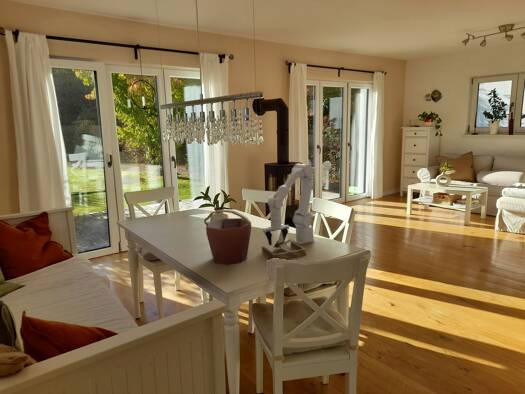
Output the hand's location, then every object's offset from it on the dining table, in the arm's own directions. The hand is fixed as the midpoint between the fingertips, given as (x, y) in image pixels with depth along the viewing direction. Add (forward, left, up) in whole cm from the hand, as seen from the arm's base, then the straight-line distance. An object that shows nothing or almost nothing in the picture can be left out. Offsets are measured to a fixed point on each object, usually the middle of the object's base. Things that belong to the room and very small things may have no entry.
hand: (276, 243), depth 201 cm
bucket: (+27, +2, -3) cm, 27 cm away
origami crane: (-2, +4, -3) cm, 6 cm away
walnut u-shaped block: (0, +8, -3) cm, 8 cm away
